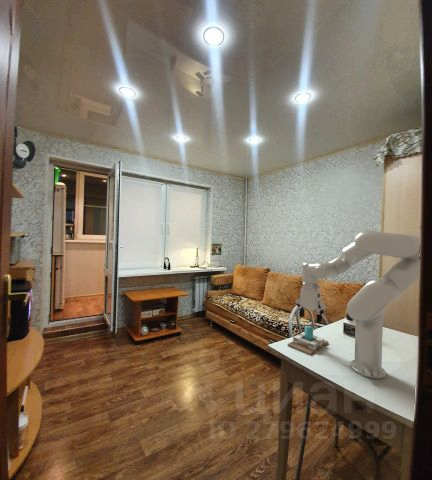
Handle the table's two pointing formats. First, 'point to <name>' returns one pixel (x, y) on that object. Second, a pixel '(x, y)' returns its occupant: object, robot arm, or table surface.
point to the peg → (309, 333)
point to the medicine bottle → (349, 326)
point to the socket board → (304, 349)
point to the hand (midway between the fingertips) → (310, 319)
